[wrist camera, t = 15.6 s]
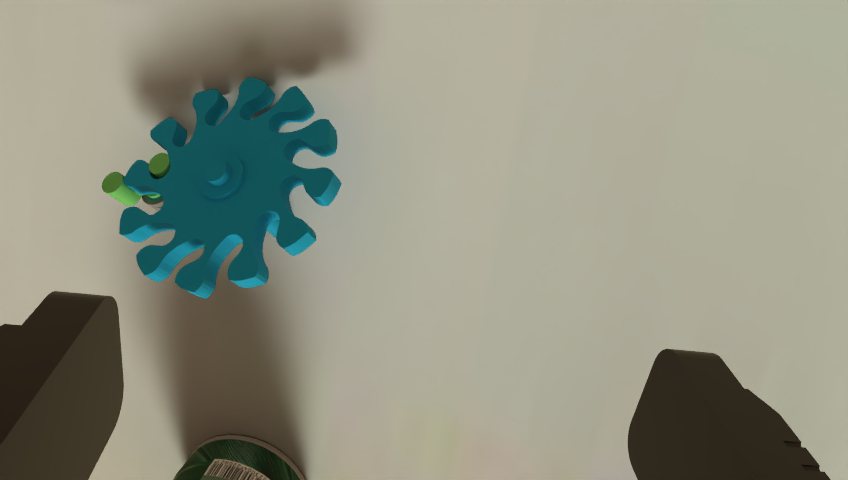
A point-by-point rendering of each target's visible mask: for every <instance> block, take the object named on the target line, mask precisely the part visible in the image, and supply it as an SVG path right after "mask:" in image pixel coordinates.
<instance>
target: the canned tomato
mask: <svg viewBox="0 0 848 480" xmlns="http://www.w3.org/2000/svg"><path fill="white" fill-rule="evenodd" d="M173 480H305V479H304V477H303V475H302V474H301V472H300V471H299V469H298V468H297V466H296V465H295V464H294V463H293V462H292V461H291V460H290V459H289V458H288V457H287V456H286V455H284V454H283V453H282V452H281V451H279V450H278V449H276V448H274V447H273V446H271V445H269V444H268V443H265V442H263V441H260V440H258V439H255V438H251V437H247V436H242V435H223V436H217V437H214V438H211V439H208V440H206V441H205V442H203V443H201V444H200V445H199V446H198V447H197V448H196V449H195V450H194V451H193V452H192V453H191V455H190V457H189V459H188V460H187V462H186V463H185V464H184V466H183V467H182V468H181V469H180V470H179V472H178V473H177V474H176V476H175V477H174V479H173Z"/></svg>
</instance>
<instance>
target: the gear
mask: <svg viewBox="0 0 848 480" xmlns="http://www.w3.org/2000/svg"><path fill="white" fill-rule="evenodd" d="M274 97H275V94H274V93H273V91H272V90H271V89H270V88H269V86H268V85H267V84H266V83H265V82H264V81H262V80H259V79H256V78H249V77H248V78H246V79H245V80H244V81H243V82H242V84H241V85H240V88H239V95H238V99H237V101H236V103H235V105H234V107H233V109H232V110H231V111H230V113H229V114H228V115H227V116H226V117H225V118H224V119H223V120H222V121H221V122H220V123H219V124H217V125H216V123H217V122H218V121H219V120H220V118H221V117H222V116H223V115H224V114H225V113H226V111H227V109H228V101H227V100H226V99H225V97H224V96H223V95H222V94H221V93H220V92H219V91H218V90H217V89H211V90H206V91H202V92H199V93H196V94H195V96H194V98H193V107H194V108H195V111H196V114H197V123H196V128H195V131H194V134H193V137H192V139H191V140H190V142H189V143H188V144H186V145H185V146H184V144H185V141H186V138H187V131H186V130H185V129H184V128H183V127H182V126H181V125H180V124H179V123H178V122H177V121H176V120H174V119H173V118H172V117H170V118H168V119H166V120H164V121H162V122H161V123H160V124H158V125H157V126H156V127H155V128H154V129H152V130H151V138H152V139H153V140H154V141H155V142H156V143H158V144H159V145H160V146H161V147H162V148H164V149H165V150H167V152H168V155H167V154H165V153H160V154H157V155H155V156H154V157H153V158H152V159H151V161H150V163H149V164H148V163H146V162H145V161H143V160H137V161H136V162H135V163H134V164H133V165H132V166H131V168H130V169H129V171H128V172H127V174H126V176H123V175H122V174H120V173H119V172H113V173H111V174H109V175H108V176H106V178H105V179H104V180H103V183H102V189H103V191H104V192H106V193H107V194H109V195H110V196H112V197H113V198H115V199H116V200H118V201H119V202H121V203H123V204H124V205H126V206H131V205H134V204H135V203H137V202H138V201H139V199H140V198H141V196H142V199H143V201H144V202H145V203H147V204H148V205H150V206H151V207H153V208H154V209H156V210H158V212H157V213H156V214H154V215H148V214H147V213H145V212H144V211H142V210H141V209H139V208H137V207H129V208H127V209H125V210H124V211H123V213H122V216H121V220H120V233H119V234H121V235H123V236H125V237H126V238H128V239H130V240H131V241H134V242H142V241H144V240H146V239H147V238H149V237H150V236H152V235H154V234H156V233H159V232H161V231H167V230H176V232H175V236H174V238H173V240H172V241H171V242H170V243H168V244H167V245H164V246H156V245H149V246H146V247H144V248H143V249H141V250H140V251H139V252H138V254H137V262H138V265H139V267H140V269H141V271H142V272H143V274H144V275H145V276H147V277H149V278H151V279H153V280H154V281H156V282H159V281H162V280H164V279H166V278H167V277H168V276H169V275H170V274H171V272H172V271H173V269H174V268H175V266H176V265H177V264H178V263H179V262H180V261H181V260H182V259H183V258H184V257H185V256H187V255H188V254H190V253H192V252H193V251H195V250H198V249H200V248H202V247H205V248H204V252H203V254H202V256H201V257H200V258H199V259H198V260H196V261H194V262H192V263H190V264H188V265H186V266H184V267H183V268H182V269H181V270H180V271H179V272H178V274H177V275H176V278H175V283H176V284H177V285H178V286H179V287H181V288H183V289H184V290H186V291H188V292H190V293H192V294H194V295H196V296H198V297H201V298H205V299H206V298H208V297H209V296H210V295H211V294H212V292H213V291H214V288H215V285H216V277H217V273H218V270H219V268H220V266H221V264H222V262H223V261H224V259H225V258H226V256H227V255H228V254H229V253H230V252H231V251H232V249H233V248H234V247H235V246H236V245H238V244H239V243H243V248H242V250H241V252H240V253H239V254H238V255H237V256H236V258H235V259H234V260H233V261H232V262H231V264H230V266H229V269H228V278H229V280H230V281H232V282H233V283H235V284H237V285H238V286H240V287H244V288H250V287H256V286H260V285H263V284H266V282H267V280H268V275H269V272H268V268H267V266H266V264H265V262H264V259H263V253H262V247H263V241H264V237H265V233H266V230H267V231H268V232H269V233H270V234H272V235H273V236H274V237H276V239H277V242H278V244H279V245H280V246H281V247H282V248H283V249H284V250H286V251H287V252H288V253H289V254H291V255H292V256H295V255H297V254H299V253H301V252H303V251H304V250H306V249H307V248H308V247H309V246H310V245H312V244H313V243H314V242H315V241H316V235H315V232H314V231H313V230H312V229H311V228H310V227H309V226H308V225H307V224H306V223H305V222H304V221H303V220H301V219H299V218H297V217H295V216H294V214H293V212H292V210H291V207H290V203H289V194H290V192H291V191H292V190H293V188H295V187H296V186H299V185H304V187H305V190H306V192H307V193H308V194H309V196H310V197H311V198H312V199H313V200H314V201H315V202H316V203H317V204H319V205H321V206H329V204H330V203H331V202H332V201H333V200H334V198H335V197H336V195H337V193H338V191H339V188H340V186H341V182H340V180H339V179H338V178H337V177H336V175H335V174H334V173H333V172H332V171H331V170H330V169H328V168H317V169H306V168H301V167H299V166H296V165H295V164H293V163H292V161H293V157H294V156H295V154H296V153H297V152H299V151H300V150H303V149H310V150H312V151H313V152H314V153H316V154H317V155H319V156H322V157H327V156H330V155H333V154H334V153H335V152H336V149H337V134H336V130H335V129H334V127H333V126H332V124H331V123H330V122H329V120H326V119H320V120H317V121H315V122H313V123H312V124H310V125H309V126H307V127H305V128H303V129H301V130H298V131H294V132H287V133H278V131H279V129H280V127H281V126H282V125H284V124H286V123H288V122H304V121H306V120H308V119H309V118H311V117H312V116H313V114H314V113H315V112H314V109H313V107H312V105H311V103H310V102H309V101H308V99H307V98H306V97H305V95H304V94H303V93H302V91H301V90H300V89H299V88H298V87H297V86H294V87H291V88H289V89H288V90H286V91H285V92H284V94H283V95H282V97H281V98H280V100H279V101H278V102H277V103H276V104H275V105H274V106H273V107H272V108H271V109H270V110H268V111H267V112H265V113H264V114H262V115H260V116H258V117H256V118H253V119H251V120H250V118H251V117H252V115H253V114H254V113H256V112H258V111H260V110H262V109H264V108H266V107H268V106H269V105H270V104H271V103H272V101H273V100H274Z"/></svg>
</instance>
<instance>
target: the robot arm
mask: <svg viewBox="0 0 848 480" xmlns="http://www.w3.org/2000/svg"><path fill="white" fill-rule="evenodd" d="M123 388H124V383H123V368H122V355H121V342H120V328H119V315H118V307H117V303H116V301H115V299H114V298H113V297H111V296H101V295H91V294H80V293H69V292H58V291H54V292H52V293H50V294H49V295H48V296H47V297H46V298H45V299H44V300H43V301H42V302H41V303H40V305H39V306H38V307H37V308H36V309H35V310H34V312H33V313H32V314H31V315H30V316H29V317H28V319H27V320H26V321H25V322H24V323H23V324H22V325H10V324H4V325H2V326H0V480H88V479H89V477H90V475H91V473H92V471H93V469H94V467H95V465H96V463H97V461H98V459H99V457H100V455H101V453H102V452H103V450H104V448H105V446H106V444H107V442H108V440H109V438H110V436H111V434H112V432H113V430H114V428H115V426H116V423H117V420H118V417H119V414H120V410H121V405H122V399H123ZM628 452H629V458H630V462H631V465H632V467H633V470H634V472H635V474H636V477H637V479H638V480H830V478H829V477H828V476H827V475H826V473H825V472H820V470H819V464H818V463H817V462H816V460H815V459H814V458H813V457H812V455H811V454H810V453H809V451H808V450H807V449H806V448H802V447H801V441H800V440H799V439H798V437H797V436H796V435H795V434H794V432H793V431H792V430H791V428H790V427H789V426H788V425H787V423H786V422H785V421H784V419H783V418H782V417H781V416H780V414H779V413H777V412H776V411H775V410H774V409H772V408H771V407H770V406H769V405H767V404H766V403H765V402H764V401H762V400H761V399H760V398H758V397H757V396H756V395H755V394H753V393H752V392H751V391H750V390H748V389H744V388H743V387H742V385H741V384H740V383H739V381H738V380H737V379H736V377H735V376H734V375H733V373H732V372H731V371H730V369H729V368H728V367H727V365H726V364H725V363H724V361H723V360H722V359H721V358H720V357H719V356H718V355H716V354H714V353H706V352H695V351H684V350H673V349H665V350H663V351H661V352H660V353H659V354H658V356H657V357H656V359H655V361H654V364H653V366H652V369H651V372H650V374H649V377H648V379H647V382H646V385H645V387H644V390H643V392H642V395H641V398H640V400H639V403H638V405H637V408H636V411H635V413H634V416H633V418H632V421H631V424H630V428H629V433H628Z"/></svg>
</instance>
